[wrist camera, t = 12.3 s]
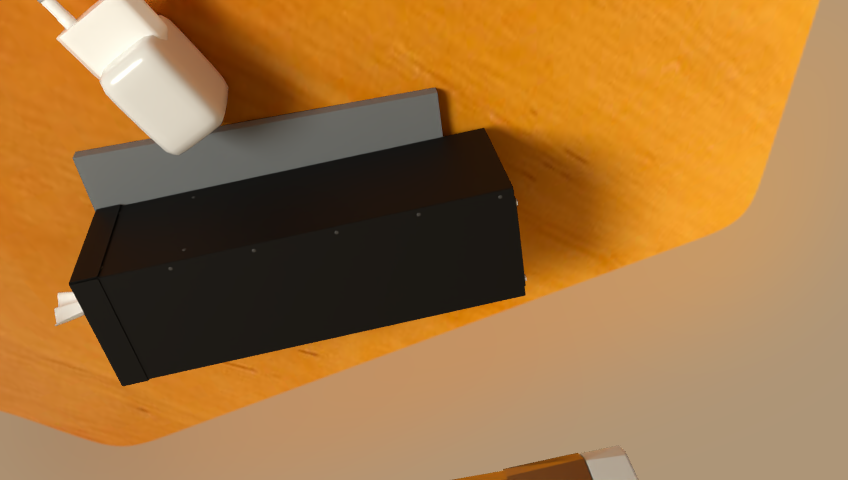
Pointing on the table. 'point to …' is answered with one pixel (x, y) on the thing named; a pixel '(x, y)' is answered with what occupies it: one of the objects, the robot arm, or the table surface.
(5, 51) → the table surface
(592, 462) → the robot arm
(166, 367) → the black long block
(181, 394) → the table surface
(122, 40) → the power adapter
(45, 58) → the table surface
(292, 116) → the mat
